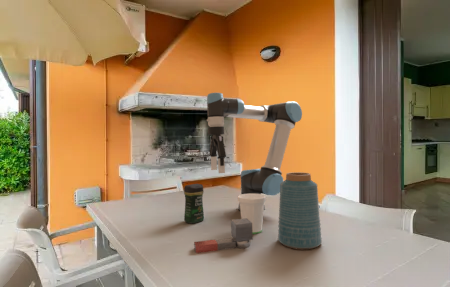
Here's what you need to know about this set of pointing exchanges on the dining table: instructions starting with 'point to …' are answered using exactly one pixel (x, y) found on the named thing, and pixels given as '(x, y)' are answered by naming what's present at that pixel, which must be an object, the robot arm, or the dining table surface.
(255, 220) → the cup
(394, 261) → the dining table surface
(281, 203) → the vase
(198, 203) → the coffee jar
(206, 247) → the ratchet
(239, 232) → the grey wooden cube
